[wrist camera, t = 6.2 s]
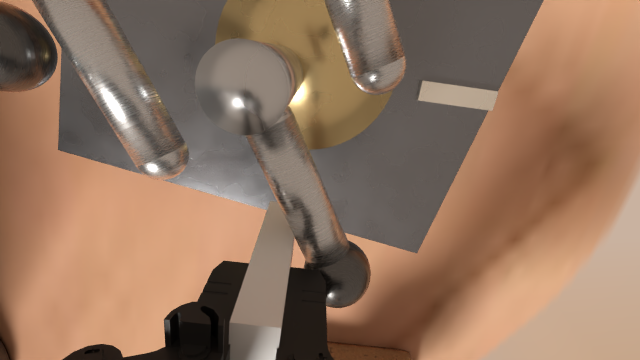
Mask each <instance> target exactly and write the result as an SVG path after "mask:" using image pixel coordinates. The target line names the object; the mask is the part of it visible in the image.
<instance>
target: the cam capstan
mask: <svg viewBox="0 0 640 360" xmlns="http://www.w3.org/2000/svg"><path fill="white" fill-rule="evenodd" d="M32 1H33V3H34V5H35V6H36V8H37V9H38V11H39V13H40V14H41V16H42V17H43V19H44V20H45V22H46V24H47V25H48V27H49V28H50V30H51V32H52V33H53V35H54V36H55V38H56V40H57V41H58V43H59V44H60V46H61V48H62V49H63V51H64V52H65V54H66V55H67V57H68V59H69V60H70V62H71V63H72V65H73V67H74V68H75V70H76V71H77V73H78V75H79V76H80V78H81V79H82V81H83V82H84V84H85V86H86V87H87V89H88V90H89V92H90V94H91V95H92V97H93V98H94V100H95V102H96V103H97V105H98V106H99V108H100V110H101V111H102V113H103V114H104V116H105V117H106V119H107V121H108V122H109V124H110V125H111V127H112V129H113V130H114V132H115V133H116V135H117V137H118V138H119V140H120V141H121V143H122V145H123V146H124V148H125V149H126V151H127V152H128V154H129V156H130V157H131V159H132V160H133V162H134V164H135V165H136V167H137V168H138V169H139V171H141V172H142V173H143V174H144V175H146V176H148V177H150V178H153V179H157V180H167V179H171V178H174V177H176V176H177V175H179V174H180V173H181V172H182V171H183V170H184V169H185V167H186V166H187V163H188V160H189V151H188V147H187V145H186V143H185V141H184V139H183V137H182V135H181V134H180V132H179V130H178V128H177V126H176V125H175V123H174V121H173V119H172V118H171V116H170V114H169V112H168V110H167V109H166V107H165V105H164V103H163V101H162V100H161V98H160V96H159V94H158V92H157V91H156V89H155V87H154V85H153V83H152V82H151V80H150V78H149V76H148V75H147V73H146V71H145V69H144V67H143V66H142V64H141V62H140V60H139V58H138V57H137V55H136V53H135V51H134V49H133V48H132V46H131V44H130V42H129V40H128V39H127V37H126V35H125V33H124V31H123V30H122V28H121V26H120V24H119V23H118V21H117V19H116V17H115V15H114V14H113V12H112V10H111V8H110V6H109V5H108V3H107V1H106V0H32ZM57 58H58V57H57V49H56V46H55V43H54V41H53V39H52V37H51V35H50V34H49V32H48V31H47V30H46V28H45V27H44V26H43V25H42V24H41V23H40V22H39V21H38V20H37V19H35V18H34V17H33V16H32V15H30V14H29V13H27V12H25V11H24V10H22V9H20V8H18V7H16V6H13V5H10V4H8V3H5V2H0V91H6V92H21V91H26V90H31V89H34V88H36V87H39V86H40V85H42V84H44V83H45V82H46V81H47V80H49V78H50V77H51V76H52V75H53V73H54V71H55V69H56V65H57ZM405 71H406V56H405V52H404V49H403V45H402V42H401V38H400V35H399V31H398V28H397V24H396V20H395V17H394V14H393V10H392V7H391V3H390V0H227V2H226V4H225V6H224V8H223V10H222V13H221V16H220V19H219V22H218V27H217V32H216V40H215V45H214V46H213V47H211V48H210V49H209V50H208V51H207V52H206V53H205V54H204V56H203V57H202V59H201V60H200V62H199V64H198V67H197V70H196V75H195V90H196V95H197V99H198V102H199V104H200V106H201V108H202V110H203V111H204V113H205V114H206V115H207V117H208V118H209V119H210V120H211V121H212V122H213V123H214V124H216V125H217V126H218V127H220V128H222V129H223V130H225V131H228V132H230V133H233V134H238V135H245V136H246V138H247V140H248V142H249V144H250V146H251V148H252V150H253V153H254V155H255V157H256V159H257V161H258V163H259V165H260V167H261V169H262V171H263V173H264V175H265V177H266V179H267V181H268V183H269V185H270V187H271V189H272V191H273V193H274V196H275V198H276V200H277V202H278V204H279V206H280V208H281V210H282V212H283V214H284V216H285V218H286V220H287V222H288V224H289V226H290V228H291V230H292V232H293V234H294V236H295V239H296V241H297V243H298V245H299V247H300V249H301V251H302V253H303V255H304V257H305V259H306V261H305V265H304V269H312V270H319V271H320V272H321V274H322V276H323V277H324V279H325V281H326V306H328V307H333V308H342V307H347V306H350V305H352V304H354V303H355V302H357V301H358V300H359V299H360V298H361V297H362V296H363V295H364V293H365V292H366V290H367V288H368V285H369V282H370V276H371V271H370V265H369V262H368V259H367V257H366V255H365V254H364V252H363V251H362V250H361V249H360V248H359V247H358V246H357V245H356V244H354V243H352V242H350V241H348V240H347V238H346V236H345V233H344V231H343V229H342V226H341V224H340V222H339V219H338V217H337V214H336V212H335V210H334V207H333V205H332V203H331V200H330V198H329V196H328V193H327V191H326V189H325V186H324V184H323V182H322V179H321V177H320V174H319V172H318V170H317V167H316V165H315V163H314V160H313V158H312V156H311V153H310V151H309V150H313V149H323V148H328V147H332V146H335V145H338V144H341V143H343V142H345V141H348V140H350V139H352V138H353V137H355V136H356V135H358V134H360V133H361V132H362V131H363V130H365V129H366V128H367V127H368V126H369V125H370V124H371V123H372V122H373V121H374V120H375V119H376V118H377V117H378V115H379V114H380V113H381V111H382V110H383V109H384V107H385V105H386V104H387V102H388V100H389V98H390V96H391V94H392V91H393V89H394V88H395V87H396V86H397V85H398V84H399V83H400V82H401V80H402V79H403V76H404V74H405Z"/></svg>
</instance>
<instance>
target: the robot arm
mask: <svg viewBox="0 0 640 360" xmlns="http://www.w3.org/2000/svg"><path fill="white" fill-rule="evenodd" d="M294 237H295V236H294V234H293V232H292V230H291V228H290V226H289V224H288V222H287V220H286V218H285V216H284V214H283V212H282V210H281V208H280V206H279V204H278V202H275V201H270V203H269V206H268V209H267V212H266V215H265V218H264V221H263V224H262V227H261V230H260V233H259V236H258V239H257V242H256V245H255V248H254V251H253V254H252V257H251V260H250V263H240V262H230V261H223V262H222V263H221V264H219V265H218V266H217V267H216V268H215V269H213V271H212V273H211V275H210V277H209V279H208V281H207V283H206V285H205V287H204V289H203V292H202V293H201V295H200V297H199V299H198V301H197V302H191V303H187V304H184V305H181V306H179V307H178V308H176V309H174V310H173V311H171V312H170V313H169V314H168V315H167V317H166V318H165V319H164V328H165V346H166V347H164V348H162V349H159V350H157V351H154V352H150V353H146V354H141V355H135V356H129V357H124V358H123V356H122V354H121V351H120V350H119V349H117V348H116V347H114V346H112V345H105V344H98V345H92V346H87V347H85V348H82V349H80V350H77V351H75V352H73V353H71V354H70V355H68V356H67V357H66V358H64V359H63V360H334V358H333V357H332V356H331V354H330V352H329V350H328V345H327V320H326V281H325V279H324V277H323V276H322V274H321V272H320V271H319V270H312V269H303V268H293V267H291V262H292V254H293V245H294ZM0 360H9V357H8V354H7V352H6V350H5V348H4V346H3V344H2V342H1V340H0Z"/></svg>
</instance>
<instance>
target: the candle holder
mask: <svg viewBox="0 0 640 360" xmlns="http://www.w3.org/2000/svg"><path fill="white" fill-rule="evenodd" d="M327 345H328V350H329V352H330V354H331V356H332V357H333V358H334V360H411V357H410V353H409V352H407V351H403V350H397V349H390V348H381V347H372V346H362V345H352V344H343V343H333V342H327Z"/></svg>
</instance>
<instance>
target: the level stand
mask: <svg viewBox="0 0 640 360" xmlns="http://www.w3.org/2000/svg"><path fill="white" fill-rule="evenodd" d="M106 1H107V3H108V5H109V6H110V8H111V10H112V12H113V14H114V15H115V17H116V19H117V21H118V23H119V24H120V26H121V28H122V30H123V31H124V33H125V35H126V37H127V39H128V40H129V42H130V44H131V46H132V48H133V49H134V51H135V53H136V55H137V57H138V58H139V60H140V62H141V64H142V66H143V67H144V69H145V71H146V73H147V75H148V76H149V78H150V80H151V82H152V83H153V85H154V87H155V89H156V91H157V92H158V94H159V96H160V98H161V100H162V101H163V103H164V105H165V107H166V109H167V110H168V112H169V114H170V116H171V118H172V119H173V121H174V123H175V125H176V126H177V128H178V130H179V132H180V134H181V135H182V137H183V139H184V141H185V143H186V145H187V147H188V151H189V160H188V163H187V166H186V167H185V169H184V170H183V171H182V172H181V173H180V174H179V175H177V176H176V177H174V178H171V179H167V180H164V181H168V182H171V183H175V184H178V185H182V186H185V187H188V188H192V189H195V190H199V191H202V192H206V193H209V194H213V195H216V196H220V197H223V198H227V199H230V200H234V201H237V202H241V203H244V204H248V205H251V206H254V207H258V208H261V209H265V210H267V209H268V206H269V203H270V201H275V202H277V200H276V198H275V196H274V193H273V191H272V189H271V187H270V185H269V183H268V181H267V179H266V177H265V175H264V173H263V171H262V169H261V167H260V165H259V163H258V161H257V159H256V157H255V155H254V153H253V150H252V148H251V146H250V144H249V142H248V140H247V138H246V136H245V135H238V134H233V133H230V132H228V131H225V130H223V129H222V128H220V127H218V126H217V125H216V124H214V123H213V122H212V121H211V120H210V119H209V118H208V117H207V115H206V114H205V113H204V111H203V110H202V108H201V106H200V104H199V102H198V99H197V95H196V90H195V75H196V70H197V67H198V64H199V62H200V60H201V59H202V57H203V56H204V54H205V53H206V52H207V51H208V50H209V49H210V48H211V47H213V46H214V45H215V40H216V32H217V27H218V22H219V19H220V16H221V13H222V10H223V8H224V6H225V4H226V2H227V0H106ZM542 2H543V0H390V3H391V7H392V10H393V14H394V17H395V20H396V24H397V28H398V31H399V35H400V38H401V42H402V45H403V49H404V52H405V56H406V71H405V74H404V76H403V79H402V80H401V82H400V83H399V84H398V85H397V86H396V87H395V88H394V89H393V91H392V94H391V96H390V98H389V100H388V102H387V104H386V105H385V107H384V109H383V110H382V111H381V113H380V114H379V115H378V117H377V118H376V119H375V120H374V121H373V122H372V123H371V124H370V125H369V126H368V127H367V128H366V129H365V130H363V131H362V132H361V133H360V134H358V135H356V136H355V137H353V138H352V139H350V140H348V141H345V142H343V143H341V144H338V145H335V146H332V147H328V148H323V149H313V150H309V151H310V153H311V156H312V158H313V160H314V163H315V165H316V167H317V170H318V172H319V174H320V177H321V179H322V182H323V184H324V186H325V189H326V191H327V193H328V196H329V198H330V200H331V203H332V205H333V207H334V210H335V212H336V214H337V217H338V219H339V222H340V224H341V226H342V229H343V231H344V232H345V233H348V234H352V235H355V236H359V237H362V238H366V239H369V240H373V241H376V242H379V243H383V244H386V245H390V246H393V247H397V248H400V249H404V250H407V251H411V252H414V253H417V252H418V250H419V248H420V246H421V244H422V242H423V240H424V238H425V236H426V234H427V232H428V230H429V228H430V226H431V224H432V222H433V220H434V218H435V216H436V214H437V212H438V210H439V208H440V206H441V204H442V202H443V200H444V198H445V196H446V194H447V192H448V190H449V188H450V186H451V184H452V182H453V180H454V178H455V176H456V174H457V172H458V170H459V168H460V166H461V164H462V162H463V160H464V158H465V156H466V154H467V152H468V150H469V148H470V146H471V144H472V142H473V140H474V138H475V136H476V134H477V132H478V130H479V128H480V126H481V124H482V122H483V120H484V118H485V116H486V114H487V112H488V110H489V111H493V108H494V104H495V101H496V98H497V95H498V90H499V88H500V86H501V84H502V82H503V80H504V78H505V76H506V74H507V72H508V70H509V68H510V66H511V64H512V62H513V60H514V58H515V56H516V54H517V52H518V50H519V48H520V46H521V44H522V42H523V40H524V38H525V36H526V34H527V32H528V30H529V28H530V26H531V24H532V22H533V20H534V18H535V16H536V14H537V12H538V10H539V8H540V6H541V4H542ZM58 150H60V151H63V152H67V153H70V154H74V155H77V156H81V157H84V158H88V159H91V160H95V161H98V162H102V163H105V164H109V165H112V166H116V167H119V168H123V169H126V170H129V171H133V172H136V173H140V174H143V173H142V172H141V171H139V169H138V168H137V167H136V165H135V164H134V162H133V160H132V159H131V157H130V156H129V154H128V152H127V151H126V149H125V148H124V146H123V145H122V143H121V141H120V140H119V138H118V137H117V135H116V133H115V132H114V130H113V129H112V127H111V125H110V124H109V122H108V121H107V119H106V117H105V116H104V114H103V113H102V111H101V110H100V108H99V106H98V105H97V103H96V102H95V100H94V98H93V97H92V95H91V94H90V92H89V90H88V89H87V87H86V86H85V84H84V82H83V81H82V79H81V78H80V76H79V75H78V73H77V71H76V70H75V68H74V67H73V65H72V63H71V62H70V60H69V59H68V57H67V55H66V54H65V52H64V51H63V49H62V54H61V83H60V112H59V142H58ZM143 175H144V174H143Z"/></svg>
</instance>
